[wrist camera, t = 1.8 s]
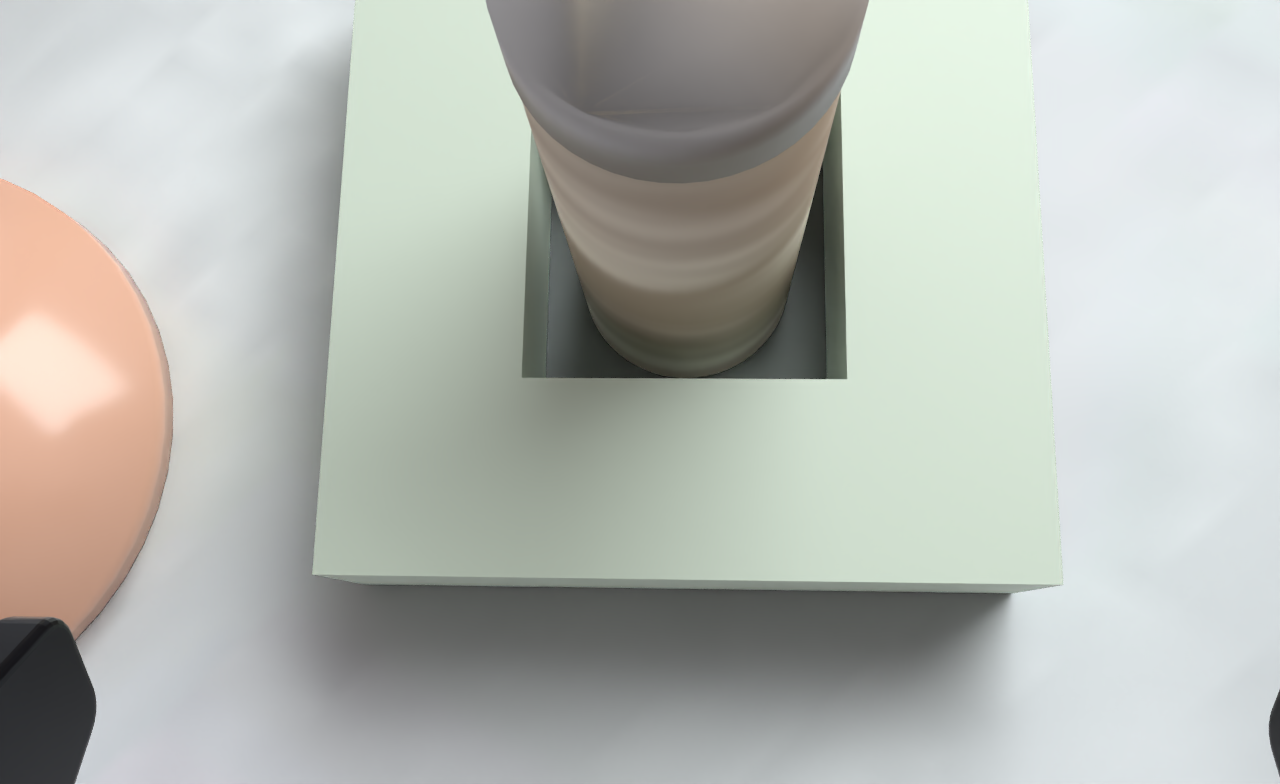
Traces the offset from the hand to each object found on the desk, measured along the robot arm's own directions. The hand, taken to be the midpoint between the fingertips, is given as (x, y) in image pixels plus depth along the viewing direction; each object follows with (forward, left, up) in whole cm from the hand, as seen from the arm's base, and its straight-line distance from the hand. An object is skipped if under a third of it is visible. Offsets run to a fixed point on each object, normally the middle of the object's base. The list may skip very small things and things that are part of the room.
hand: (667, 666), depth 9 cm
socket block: (+5, +5, -13) cm, 15 cm away
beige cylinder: (+5, +5, -13) cm, 15 cm away
